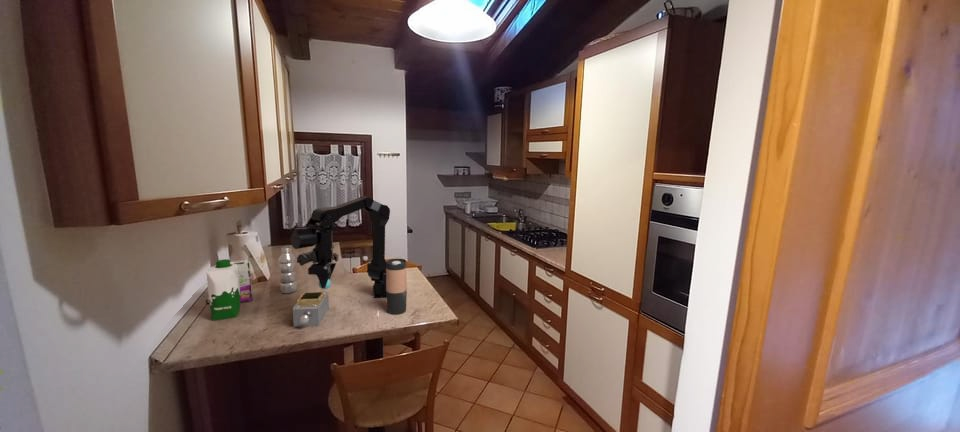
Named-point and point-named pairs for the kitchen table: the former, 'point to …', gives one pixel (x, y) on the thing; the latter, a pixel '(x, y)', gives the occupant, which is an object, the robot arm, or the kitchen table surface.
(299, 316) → the gearbox
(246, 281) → the candy bar box
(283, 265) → the plastic bottle
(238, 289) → the milk carton
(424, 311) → the kitchen table surface
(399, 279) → the travel mug
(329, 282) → the bead
